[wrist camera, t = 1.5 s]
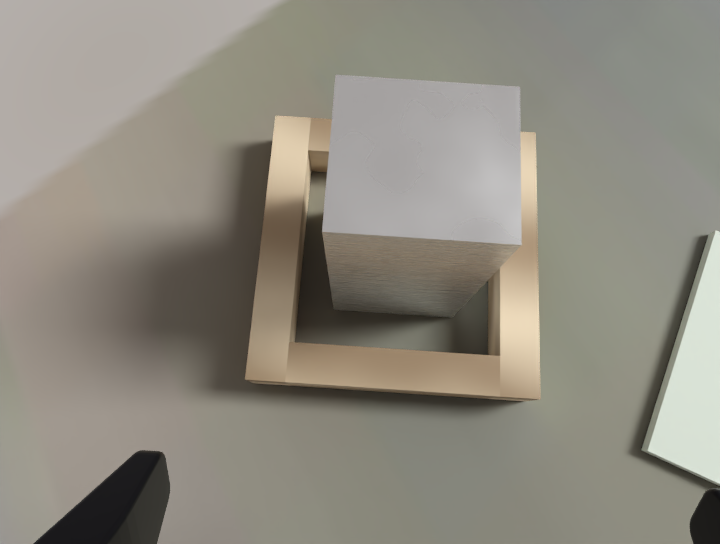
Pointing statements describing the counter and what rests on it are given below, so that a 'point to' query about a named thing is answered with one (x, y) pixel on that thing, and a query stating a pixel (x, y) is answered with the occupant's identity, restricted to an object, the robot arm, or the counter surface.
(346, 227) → the steel cap block
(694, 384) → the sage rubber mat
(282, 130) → the oak socket frame
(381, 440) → the counter surface
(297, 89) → the counter surface
